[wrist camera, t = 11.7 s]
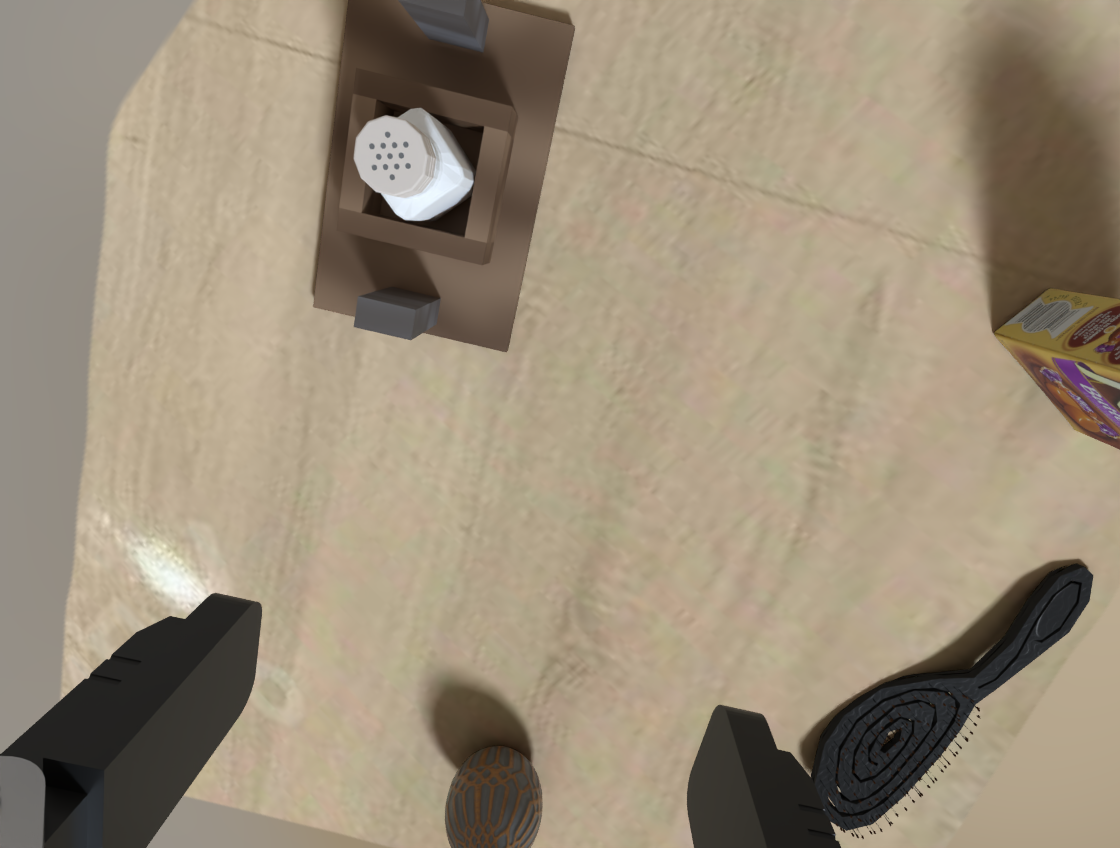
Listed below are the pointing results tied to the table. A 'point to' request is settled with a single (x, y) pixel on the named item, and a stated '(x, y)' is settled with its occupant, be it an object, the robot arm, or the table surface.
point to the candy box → (1072, 357)
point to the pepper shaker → (414, 165)
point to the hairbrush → (931, 710)
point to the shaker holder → (484, 135)
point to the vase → (494, 801)
